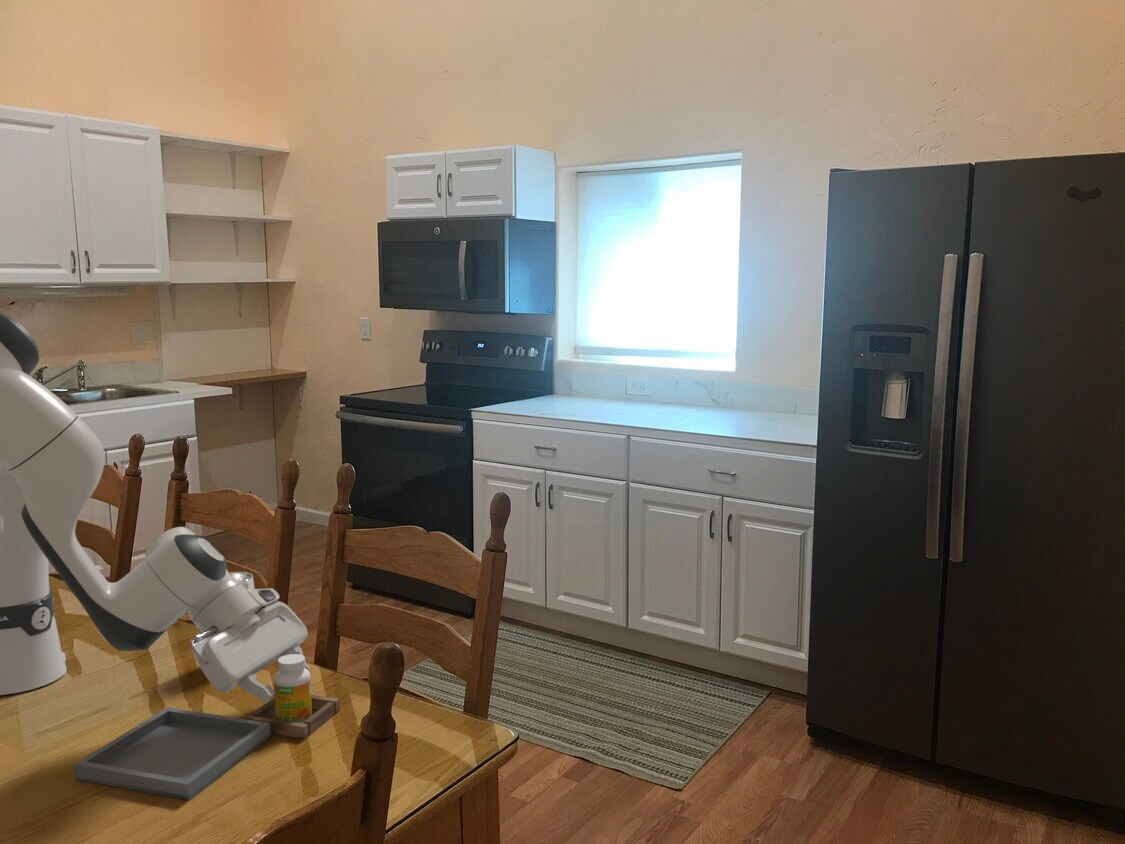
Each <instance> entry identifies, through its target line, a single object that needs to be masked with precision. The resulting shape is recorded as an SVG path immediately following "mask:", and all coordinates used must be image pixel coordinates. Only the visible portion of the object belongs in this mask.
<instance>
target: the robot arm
mask: <svg viewBox="0 0 1125 844" xmlns="http://www.w3.org/2000/svg"><path fill="white" fill-rule="evenodd" d="M39 362H40V352H39V348H38V345H37V343H36V342H35V340H34V338H32V336H31V335H30V333H29V331H27V330H26V328H25V327H24V326H23V325H21V323H19V322H18V321H16V320H15V319H13V318H11V316H9V315H7V314H5V313H2V312H0V518H2V522H3V525H2V526H3V527H2V531H1V534H0V696H4V695H5V696H6V695H10V694H18V693H22V692H27V691H31V690H35V689H38V688H40V687H43V686H46V685H49V684H51V683H54V682H55V681H57V680H59V679H60V678H62V677H63V676H64V675H65V674H66V672H67V670H68V669H67V665H66V663H65V661H66V660H67V656H66V653H65V652H64V651H62V647H61V642H60V636H59V631H58V627H57V622H56V618H55V617H54V612H55V605H54V603H55V598H54V596H53V595H54V594H53V591H52V590H51V589H50V581H49V580H50V579H49V578H50V577H49V576H50V575H49V563H50V565H51V567H52V568H53V569H54V570H55V571H56V573H57V574H58V576H60V578H61V579H62V580H63V582H64V583H65V584H66V586H67V587H68V589H70V591H71V593H72V594H73V596H75V598H76V599H77V600H78V602H79V603H80V604H81V606H82V607H83V609H84V610H85V611H86V613H87V616H89V618H90V620H91V621H92V623H93V624H94V626H95V628H96V629H97V632H98V633H99V635H100V636H101V637H102V639H103V640H104V641H105V642H107V644H109V645H110V646H112V647H113V648H114V649H115V650H117V651H119V652H137V651H144V650H148V649H149V648H150V647H152V645H153V644H154V643H155V642H156V641H157V640H158V639H159V638H160V637H161V636H163V634H164V633H166V631H167V629H169V628H170V626H172V625H173V624H174V623H176V622H177V621H178V620H179V619H180V618H182V616H184V615H185V614H186V613H188V615H189V618H190V620H191V622H192V623H193V625H195V626H196V628H197V629H198V630H199V631H200V633H198V634H196V635H194V636H193V637H192V638H191V642H190V652H191V654H192V655H193V656H194V657H195V658H196V662H197V664H198V666H199V667H200V669H201V671H202V672H203V674H204V675H205V677H206V678H207V680H208V682H210V684H211V685H212V687H213V688H214V690H216V691H218V692H220V693H227V692H228V691H230V690H232V689H234V688H235V687H237V686H239V687H240V688H241V689H242V690H243V691H244V692H247V693H249V694H251V695H253V696H256V698H258V699H259V701H260V702H261V703H263V704H266V703H267V702H269V701H270V700H272V699H273V698H274V695H275V691H274V688H273V687H272V686H271V685H270V684H267V685H265V684H263V683H261V682H260V681H258V680H257V676H256V674H257V673H259V672H260V671H262V670H264V669H265V668H266V667H268V666H270V665H271V664H273V663H274V662H276V661H278V659H279V658H280V657H282V656H285V655H289V654H300V655H303V656H304V654H303V653H304V652H303V650H302V648H301V647H300V645H301V644H302V643H303V642H304V641H305V640H306V639H307V638H308V635H309V634H308V629H307V627H306V625H305V624H304V623H303V621H302V620H301V619H300V617H298V616H297V614H296V613H295V612H294V611H293V610H292V609H291V607H289V606H288V604H286V603H284V602H282V601H279V599H280V598H281V597H280V594H279V592H277V590H275V589H274V588H254V589H251V588H249V589H246V588H245V587H244V586H243V585H242V584H241V583H240V582H239V581H238V580H236V579H235V578H233V577H232V576H231V575H230V574H229V573H230V572H229V571H228V569H227V560H226V558H225V556H224V555H222V554H221V552H220V551H219V550H218V549H217V547H216V546H215V545H214V544H213V543H212V542H211V541H210V539H208V538H207V537H206V536H204V535H200V534H199V535H198V534H195V533H194V532H193V531H192V530H190V529H189V528H187V527H185V526H177V527H173V528H170V529H168V530H165V531H163V532H162V533H160V534H159V535H158V536H156V537H155V538H154V539H153V540H152V541H150V543H149V544H148V545H147V548H146V550H145V559H144V560H143V561H142V562H140V563H139V564H137V566H135V567H134V568H132V570H130V571H129V572H128V573H127V574H126V575H124V577H122V578H120V579H118V581H115V582H110V581H108V580H107V579H106V578H105V576H104V575H103V574H102V572H101V571H100V570H99V569H98V566H97V565H96V564H95V563H94V562H93V560H92V559H91V557H90V556H89V555H88V554H87V552H86V550H85V549H84V548H83V546H82V545H81V544H80V542H79V541H78V539H77V536H76V527H77V524H78V523H77V522H78V520H79V518H80V515H81V514H82V511H83V510H84V509H85V507H86V505H87V504H88V502H89V500H90V499H91V497H92V495H93V493H94V492H95V490H96V488H97V487H98V484H99V483H100V480H101V477H102V475H103V472H104V467H105V457H106V456H105V450H104V446H103V444H102V442H101V440H100V439H99V438H98V436H97V435H96V434H95V433H94V431H93V430H92V429H91V428H90V427H89V426H88V424H87V423H86V422H85V421H84V420H83V419H82V418H81V417H80V416H79V415H78V414H77V413H76V412H75V411H74V410H73V409H72V408H71V407H70V406H69V405H67V403H66V402H64V401H63V400H62V399H61V398H60V397H59V396H58V395H56V394H55V393H54V392H52V391H51V390H50V389H48V388H47V387H46V386H44V384H42V383H40V382H39V381H37V380H36V379H35V378H33V377H31V376H30V374H31V373H32V372H33V371H34V370H35V368H36V367H37V366H38V364H39ZM305 663H306V665H305V669H307V670H308V671H309V672H311V667H310V665H308V663H307V662H306V661H305Z"/></svg>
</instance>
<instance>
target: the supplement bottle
mask: <svg viewBox="0 0 1125 844" xmlns="http://www.w3.org/2000/svg"><path fill="white" fill-rule="evenodd" d="M305 662H306V657H305V655H304V654H303V655H300V654H289V655H284V656H282V657H280V658H279V659H278V660H277V669H278V671H277V672H276V673H275V675H274V677H273V690H274V691H275V695H274V696H273V698H275V714H274V716H275V717H274V719H277V720H284V721H290V722H297V723H304V721H306V720H307V719H308V718H309V717H311V716H312V715H313V709H312V701H311V695H312V684H311V683H312V680H311V679H312V678H311V673H310V672H311V671H308V670H307V669H305V665H306V663H307V662H306V663H305Z"/></svg>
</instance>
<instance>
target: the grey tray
mask: <svg viewBox="0 0 1125 844" xmlns="http://www.w3.org/2000/svg"><path fill="white" fill-rule="evenodd" d="M271 737H272V734H271V728H270V723H267V722H260V721H253V720H247V719H245V718H241V717H233V716H227V715H226V716H225V715H219V714H213V713H206V712H201V711H200V712H199V711H193V710H186V709H180V708H173V707H165V708H164V709H162V710H160V711H159V712H157V713H156V714H154V715H153V716H151V717H149V718H148V719H146V720H144V721H142V722H141V723H139V724H138V725H136V726H134V727H133V728H131V729H130V730H128V731H126V732H125V733H123V734H121V735H119V736H118V737H116V738H115V739H113V740H111V741H109V742H107V744H105V745H103V746H102V747H100V748H98V749H97V750H95V751H93V752H92V753H90V754H88V755H87V756H85V757H84V758H82V759H80V760H79V761H77V762H75V763H74V764H73V767H74V768H73V769H74V780H75V781H80V782H85V783H86V782H87V783H91V784H98V785H101V786H106V787H107V786H108V787H113V788H119V789H123V790H131V791H134V792H135V791H136V792H141V793H145V794H152V795H157V796H161V797H167V798H173V799H178V800H184V801H190V800H192V799H193V798H194V797H196V796H197V795H198V794H199V793H201V792H202V791H204V789H206V788H207V787H209V785H211V784H212V783H214V782H215V781H216V780H217V779H219V778H220V777H221V776H223V775H224V774H225V773H226V772H228V771H229V770H230V769H232V768H234V767H235V765H237V764H238V763H240V762H241V761H242V760H244V759H245V758H246V757H247V756H249V755H251V754H252V753H253V752H254V751H255V750H256V749H258V748H259V747H260V746H262V745H263V744H264V743H266V742H267V741H268V740H270V739H271Z"/></svg>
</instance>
